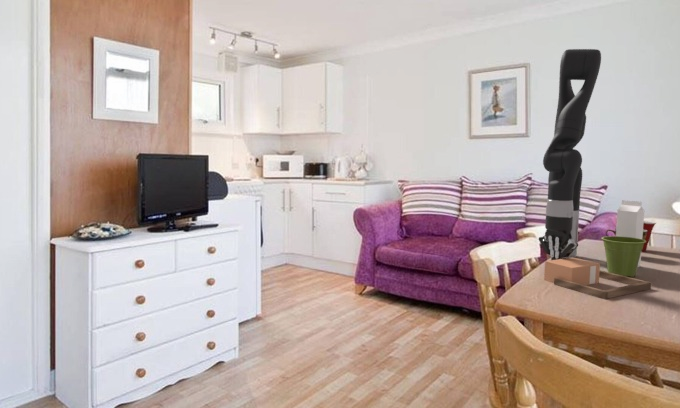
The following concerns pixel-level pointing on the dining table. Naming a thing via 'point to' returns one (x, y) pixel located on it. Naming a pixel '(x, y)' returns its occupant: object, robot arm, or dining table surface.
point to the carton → (572, 270)
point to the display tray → (633, 286)
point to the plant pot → (622, 254)
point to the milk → (630, 220)
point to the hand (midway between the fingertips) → (556, 269)
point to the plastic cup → (649, 228)
